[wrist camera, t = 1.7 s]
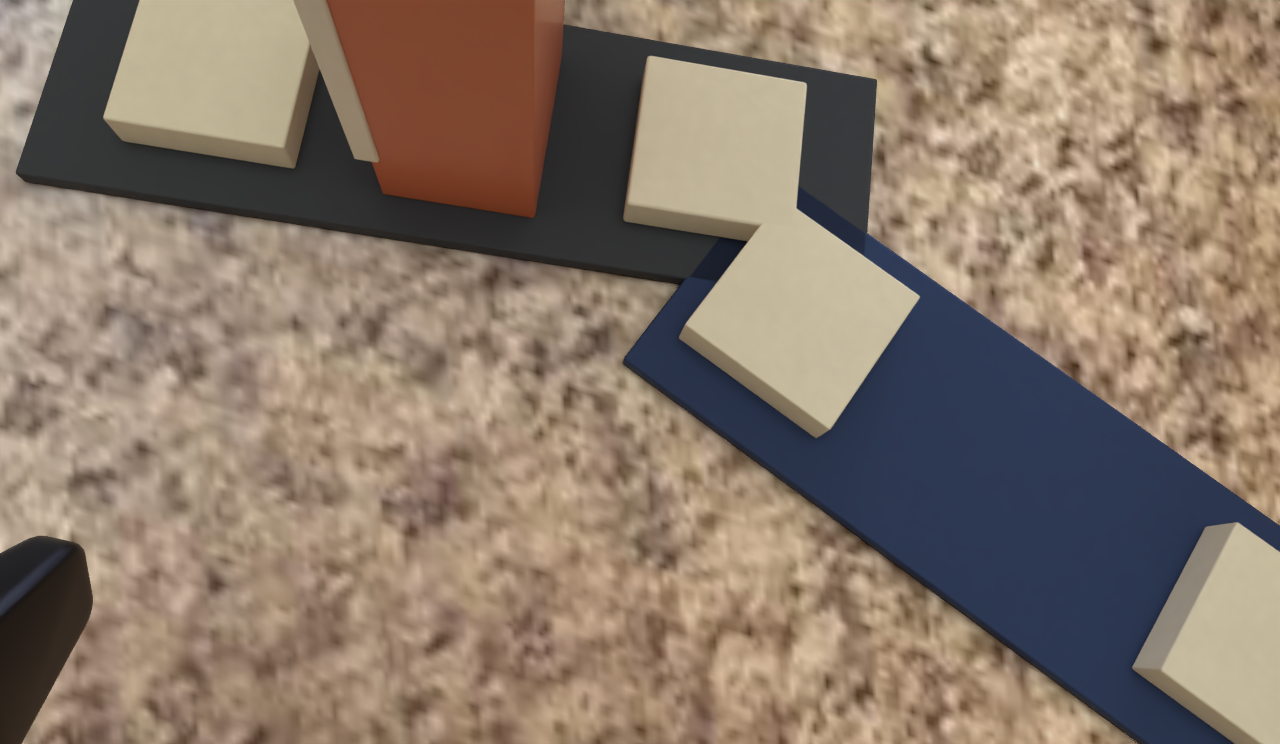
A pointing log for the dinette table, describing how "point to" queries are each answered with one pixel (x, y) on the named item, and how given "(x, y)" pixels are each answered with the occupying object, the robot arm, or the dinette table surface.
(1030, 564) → the blue tile board
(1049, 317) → the dinette table surface
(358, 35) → the upright orange brick
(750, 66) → the dark grey base plate
